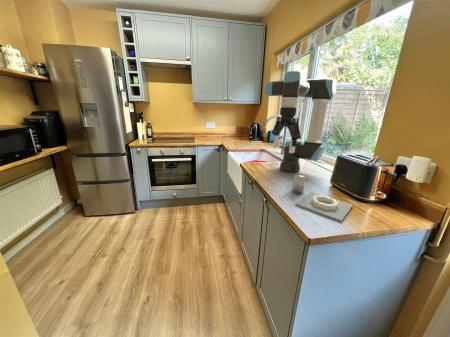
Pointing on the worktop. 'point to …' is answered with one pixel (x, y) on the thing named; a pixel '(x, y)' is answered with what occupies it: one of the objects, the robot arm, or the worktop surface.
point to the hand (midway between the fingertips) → (283, 150)
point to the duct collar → (298, 183)
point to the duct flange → (325, 206)
